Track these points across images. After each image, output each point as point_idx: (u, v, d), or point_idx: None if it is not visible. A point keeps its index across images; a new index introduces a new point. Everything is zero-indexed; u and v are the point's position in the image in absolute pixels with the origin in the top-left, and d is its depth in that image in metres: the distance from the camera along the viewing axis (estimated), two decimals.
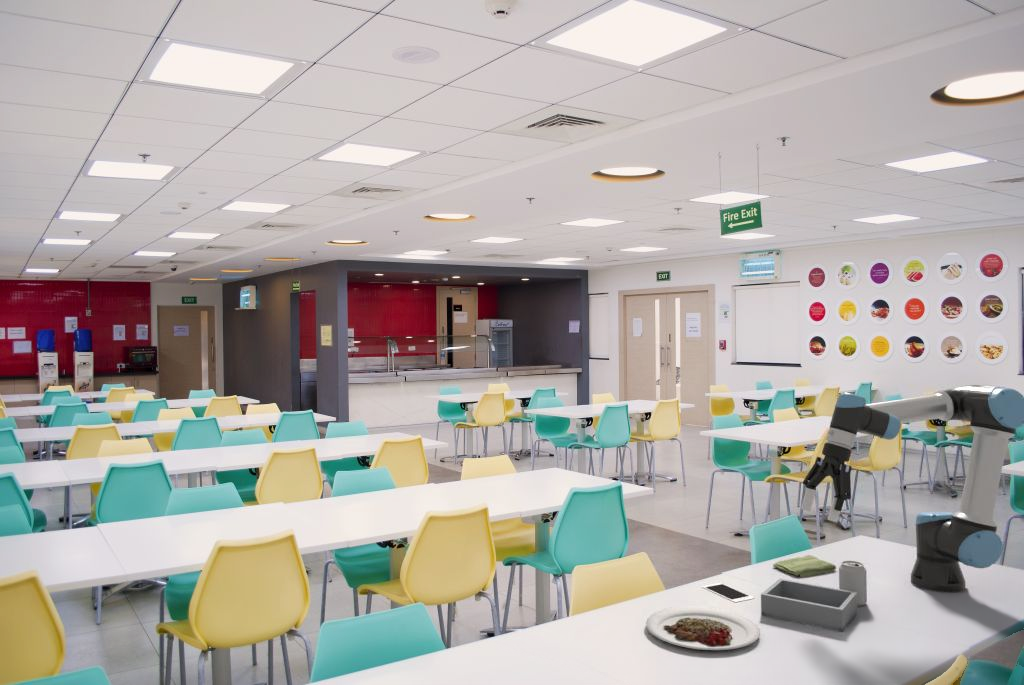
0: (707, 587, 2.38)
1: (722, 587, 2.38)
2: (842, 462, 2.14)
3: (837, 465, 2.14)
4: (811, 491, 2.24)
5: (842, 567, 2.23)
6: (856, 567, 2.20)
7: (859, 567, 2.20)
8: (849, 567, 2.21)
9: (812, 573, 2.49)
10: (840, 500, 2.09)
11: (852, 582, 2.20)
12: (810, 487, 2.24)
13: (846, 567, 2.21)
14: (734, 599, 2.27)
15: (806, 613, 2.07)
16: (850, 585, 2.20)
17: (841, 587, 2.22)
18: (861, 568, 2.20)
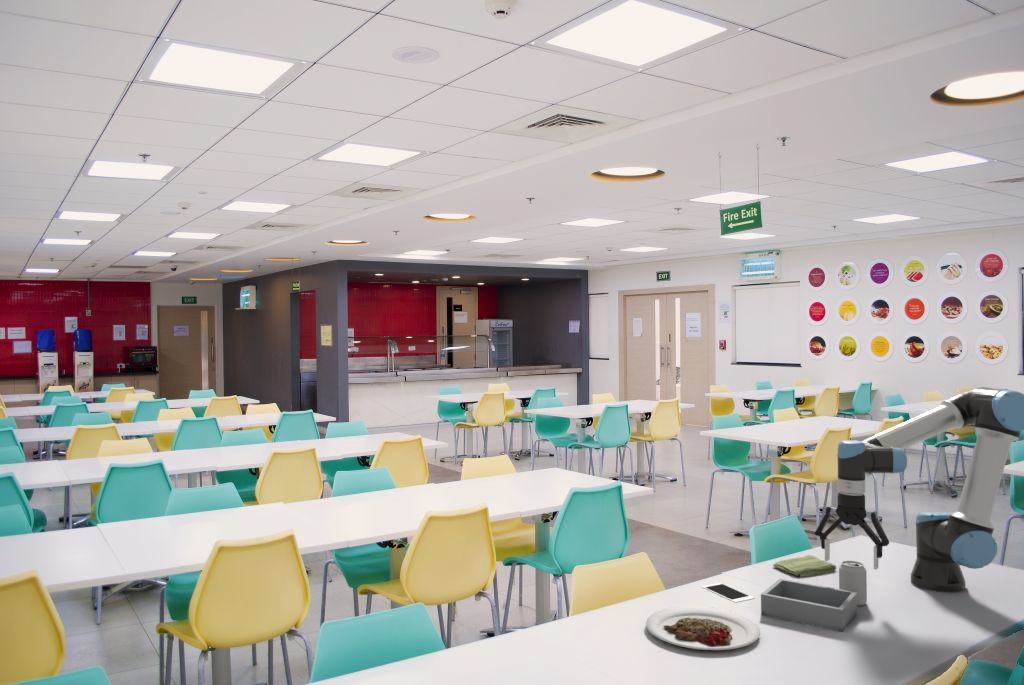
0: (707, 587, 2.38)
1: (722, 587, 2.38)
2: (864, 509, 2.21)
3: (863, 514, 2.20)
4: (828, 540, 2.27)
5: (842, 567, 2.23)
6: (856, 567, 2.20)
7: (859, 567, 2.20)
8: (849, 567, 2.21)
9: (812, 573, 2.49)
10: (881, 548, 2.18)
11: (852, 582, 2.20)
12: (825, 537, 2.27)
13: (846, 567, 2.21)
14: (734, 599, 2.27)
15: (806, 613, 2.07)
16: (850, 585, 2.20)
17: (841, 587, 2.22)
18: (861, 568, 2.20)
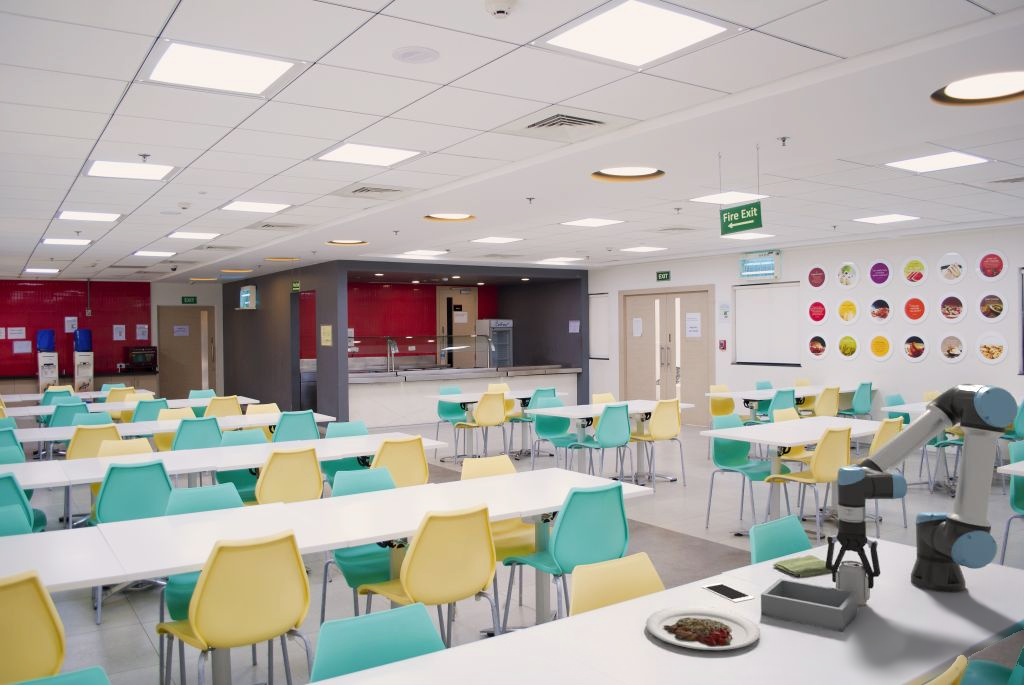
0: (707, 587, 2.38)
1: (722, 587, 2.38)
2: None
3: (864, 541, 2.20)
4: None
5: (842, 567, 2.23)
6: (856, 567, 2.20)
7: (859, 567, 2.20)
8: (849, 567, 2.21)
9: (812, 573, 2.49)
10: (872, 578, 2.19)
11: (852, 582, 2.20)
12: (836, 570, 2.25)
13: (846, 567, 2.21)
14: (734, 599, 2.27)
15: (806, 613, 2.07)
16: (850, 585, 2.20)
17: (841, 587, 2.22)
18: (861, 568, 2.20)
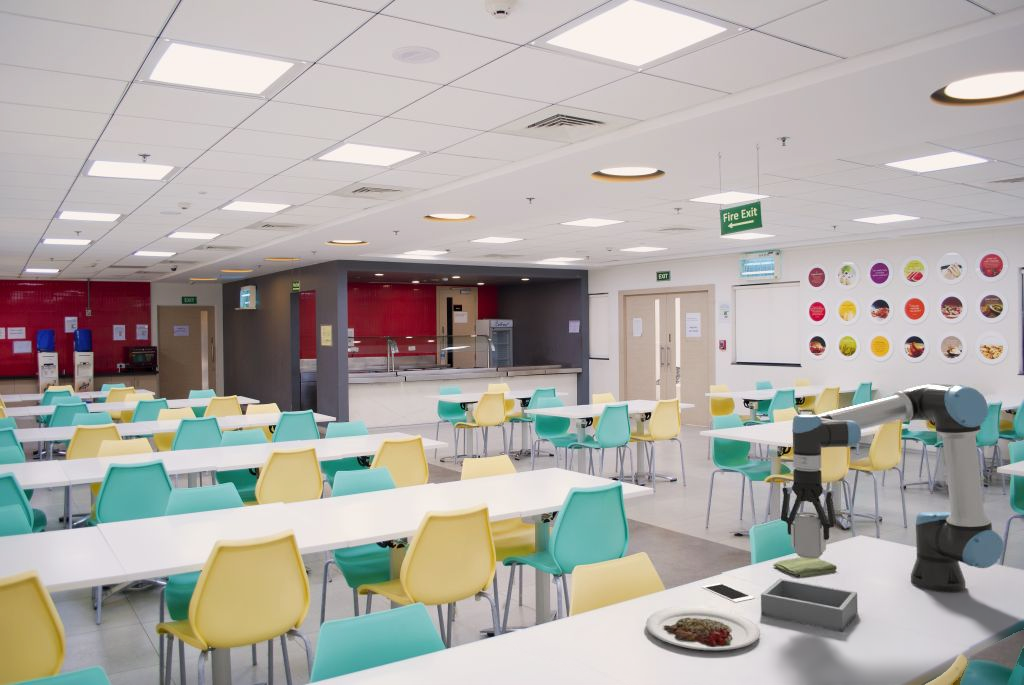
0: (707, 587, 2.38)
1: (722, 587, 2.38)
2: None
3: (819, 491, 2.12)
4: None
5: (797, 518, 2.14)
6: (811, 517, 2.12)
7: (814, 518, 2.12)
8: (804, 518, 2.12)
9: (812, 573, 2.49)
10: (828, 529, 2.11)
11: (807, 533, 2.11)
12: (792, 522, 2.17)
13: (801, 518, 2.13)
14: (734, 599, 2.27)
15: (806, 613, 2.07)
16: (805, 536, 2.12)
17: (796, 539, 2.14)
18: (816, 519, 2.12)
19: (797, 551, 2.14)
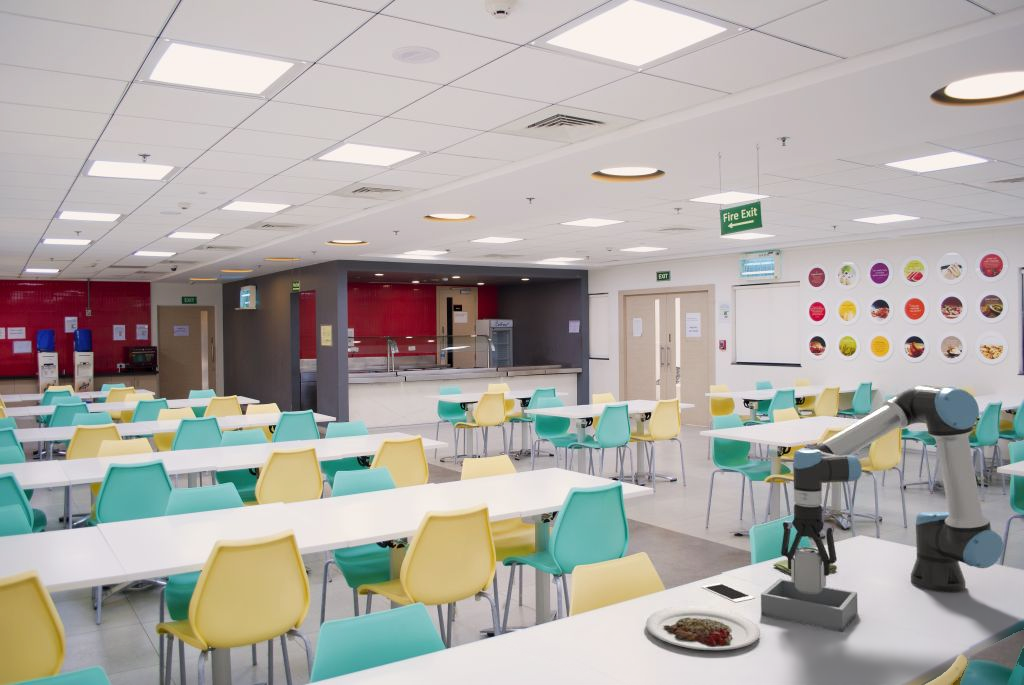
0: (707, 587, 2.38)
1: (722, 587, 2.38)
2: None
3: (820, 527, 2.12)
4: None
5: (797, 553, 2.14)
6: (811, 553, 2.12)
7: (815, 553, 2.12)
8: (804, 553, 2.12)
9: None
10: (828, 565, 2.11)
11: (807, 568, 2.11)
12: (792, 557, 2.17)
13: (801, 553, 2.13)
14: (734, 599, 2.27)
15: (806, 613, 2.07)
16: (805, 572, 2.12)
17: (796, 574, 2.14)
18: (817, 554, 2.12)
19: (797, 586, 2.14)
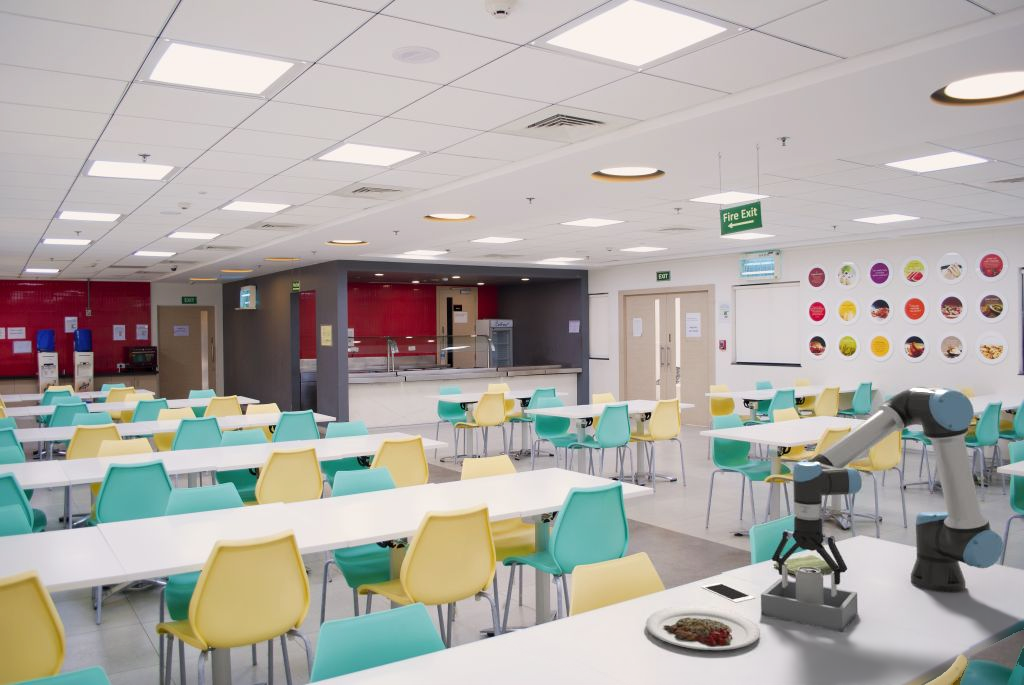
0: (707, 587, 2.38)
1: (722, 587, 2.38)
2: (822, 534, 2.12)
3: (820, 539, 2.12)
4: (786, 566, 2.19)
5: (798, 573, 2.14)
6: (812, 573, 2.12)
7: (815, 573, 2.12)
8: (805, 573, 2.12)
9: None
10: (839, 574, 2.09)
11: (808, 589, 2.11)
12: (783, 562, 2.19)
13: (802, 573, 2.13)
14: (735, 599, 2.27)
15: (806, 613, 2.07)
16: (806, 592, 2.12)
17: (797, 594, 2.14)
18: (818, 574, 2.12)
19: None
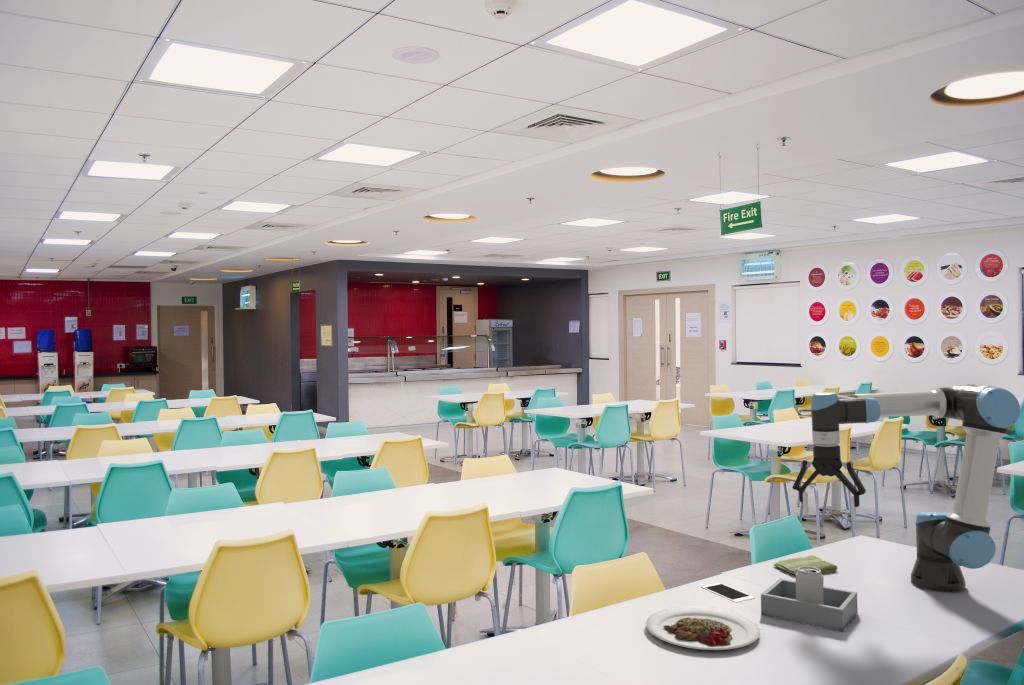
0: (707, 587, 2.38)
1: (722, 587, 2.38)
2: (840, 460, 2.22)
3: (839, 465, 2.21)
4: (806, 494, 2.27)
5: (798, 573, 2.14)
6: (812, 573, 2.12)
7: (815, 573, 2.12)
8: (805, 573, 2.12)
9: None
10: (858, 496, 2.19)
11: (808, 589, 2.11)
12: (803, 490, 2.28)
13: (802, 573, 2.13)
14: (735, 599, 2.27)
15: (806, 613, 2.07)
16: (806, 592, 2.12)
17: (797, 594, 2.14)
18: (818, 574, 2.12)
19: None
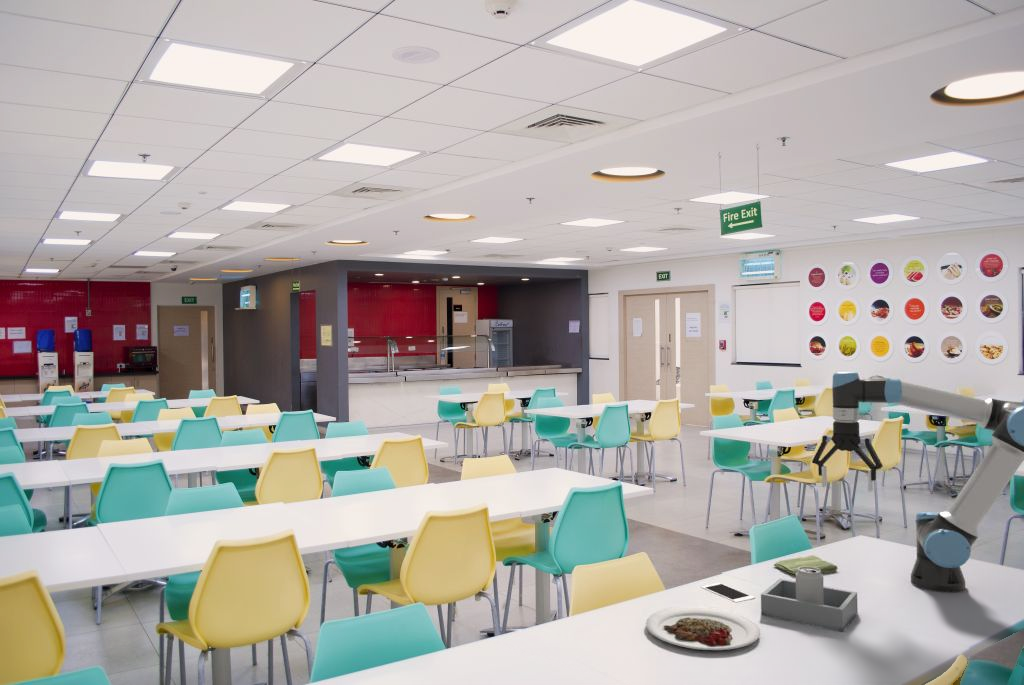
0: (707, 587, 2.38)
1: (721, 587, 2.38)
2: (859, 436, 2.33)
3: (858, 440, 2.32)
4: (825, 467, 2.39)
5: (798, 573, 2.14)
6: (812, 573, 2.12)
7: (816, 573, 2.12)
8: (805, 573, 2.12)
9: None
10: (875, 471, 2.30)
11: (808, 589, 2.11)
12: (822, 464, 2.39)
13: (802, 573, 2.13)
14: (735, 599, 2.27)
15: (806, 613, 2.07)
16: (806, 592, 2.12)
17: (797, 594, 2.14)
18: (818, 574, 2.12)
19: None
